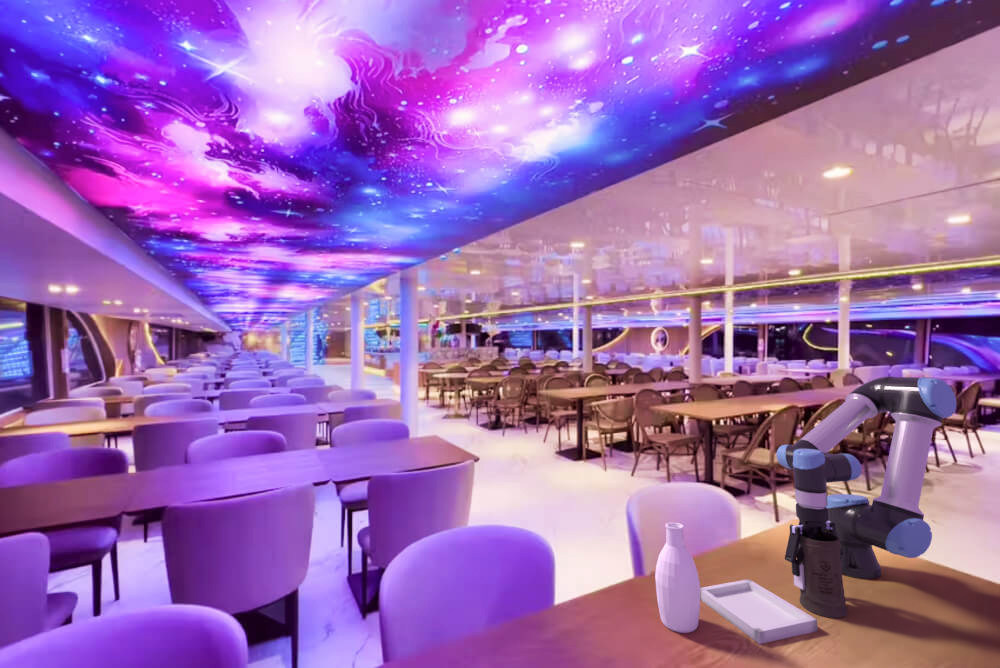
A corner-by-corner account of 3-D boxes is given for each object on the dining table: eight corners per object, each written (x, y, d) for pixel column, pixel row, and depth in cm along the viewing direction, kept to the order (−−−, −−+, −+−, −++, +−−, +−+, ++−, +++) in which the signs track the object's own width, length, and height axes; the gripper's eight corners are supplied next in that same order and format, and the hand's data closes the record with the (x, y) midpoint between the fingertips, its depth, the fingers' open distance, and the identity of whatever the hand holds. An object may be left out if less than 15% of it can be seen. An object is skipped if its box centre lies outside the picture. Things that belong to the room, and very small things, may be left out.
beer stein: (858, 621, 117) (849, 541, 119) (812, 618, 119) (805, 539, 121) (827, 595, 132) (820, 524, 134) (787, 592, 134) (781, 522, 136)
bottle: (681, 641, 111) (676, 536, 112) (647, 618, 120) (643, 522, 122) (711, 627, 116) (706, 527, 117) (676, 607, 126) (672, 515, 127)
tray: (749, 588, 135) (748, 579, 135) (817, 630, 113) (816, 619, 113) (698, 598, 130) (697, 588, 130) (759, 644, 109) (758, 632, 109)
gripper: (830, 497, 134) (835, 572, 133) (766, 505, 128) (771, 583, 127) (856, 504, 127) (861, 584, 126) (789, 513, 121) (794, 597, 120)
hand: (816, 584), depth 126 cm, fingers open, 11 cm apart
